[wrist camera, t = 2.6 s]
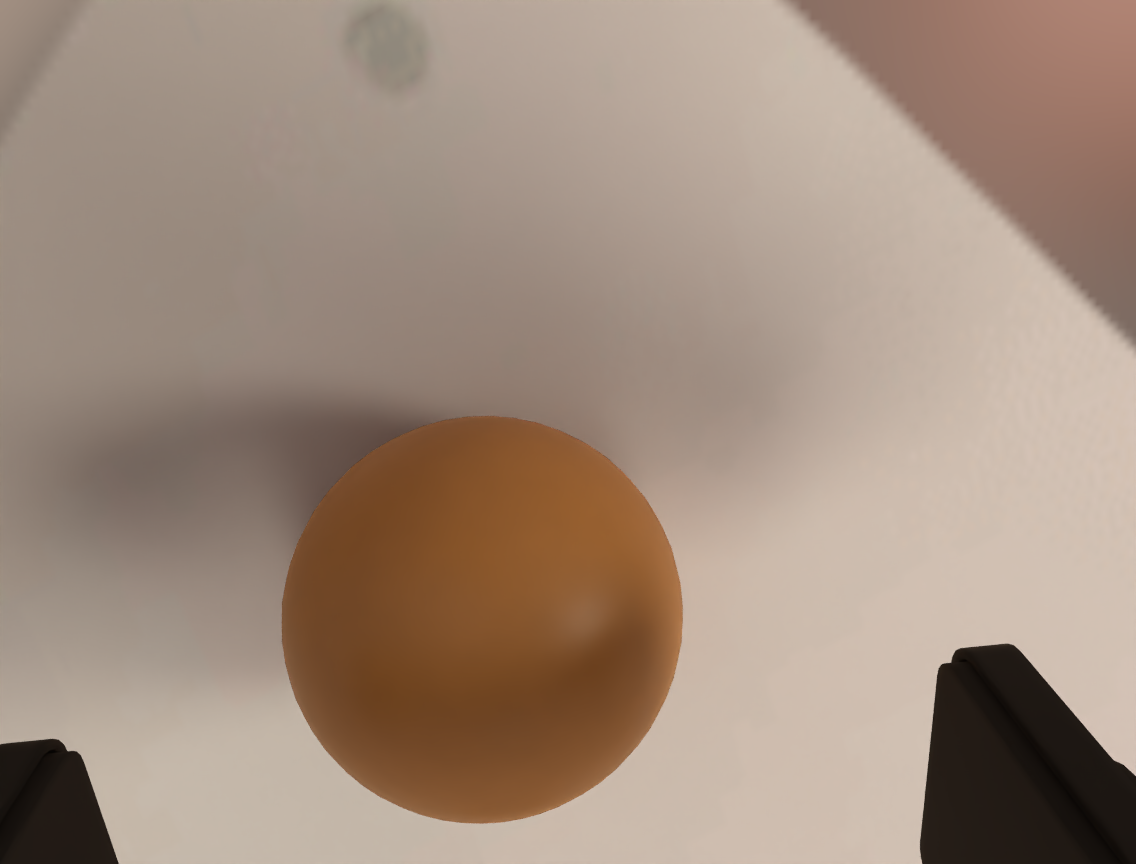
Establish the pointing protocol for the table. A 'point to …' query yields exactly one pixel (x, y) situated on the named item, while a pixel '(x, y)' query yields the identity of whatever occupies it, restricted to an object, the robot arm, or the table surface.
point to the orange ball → (482, 619)
